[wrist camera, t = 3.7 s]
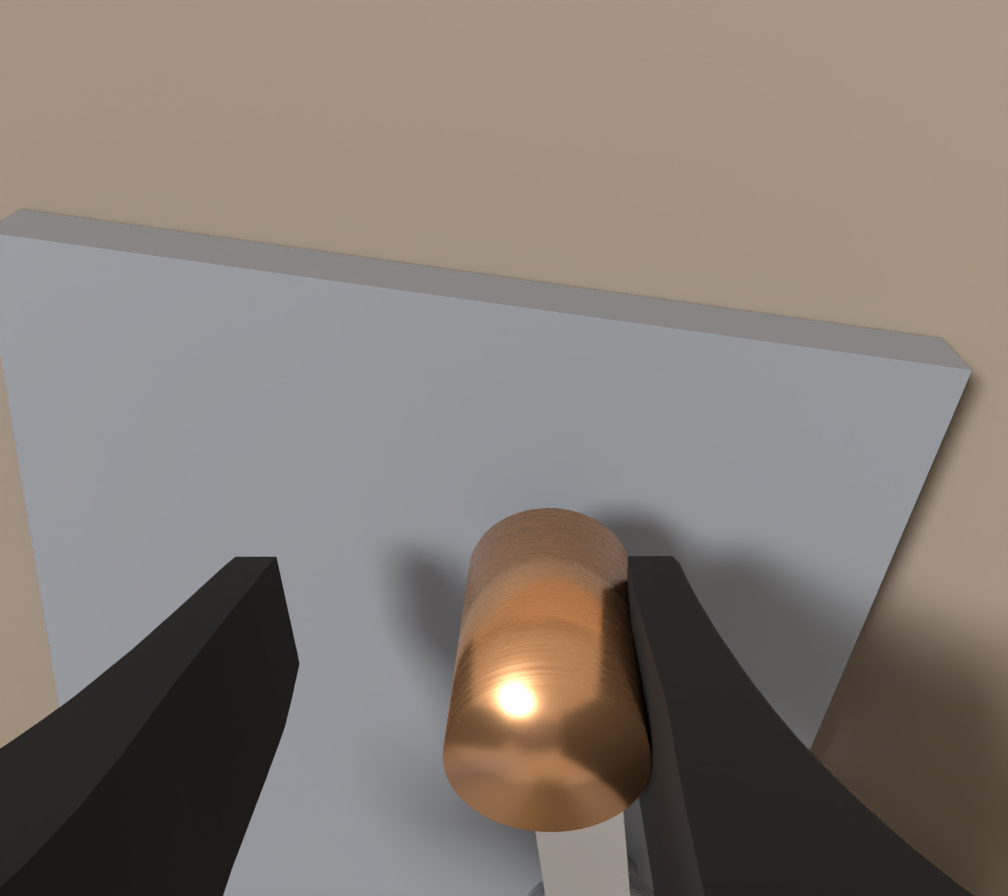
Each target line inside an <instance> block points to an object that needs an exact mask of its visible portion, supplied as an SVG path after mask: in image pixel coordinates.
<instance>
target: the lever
mask: <svg viewBox="0 0 1008 896" xmlns="http://www.w3.org/2000/svg"><path fill="white" fill-rule="evenodd" d="M627 566H628V555H627V553H626V551H625V549H624V547H623V545H622V543H621V542H620V541H619V539H618V538H617V537H616V536H615V535H614V534H613V533H612V531H611V530H609V529H608V528H607V527H606V526H604V525H603V524H601V523H600V522H598V521H597V520H595V519H593V518H591V517H589V516H587V515H584V514H581V513H578V512H575V511H571V510H566V509H558V508H539V509H531V510H527V511H523V512H519V513H516V514H513V515H511V516H509V517H507V518H505V519H503V520H501V521H499V522H498V523H496V524H495V525H493V526H492V527H491V528H490V529H489V530H488V531H487V532H485V534H484V535H483V536H482V537H481V538H480V540H479V541H478V543H477V544H476V546H475V548H474V550H473V553H472V555H471V559H470V563H469V570H468V577H467V584H466V592H465V599H464V606H463V613H462V620H461V627H460V634H459V641H458V648H457V655H456V662H455V669H454V676H453V683H452V690H451V697H450V704H449V711H448V718H447V725H446V732H445V740H444V747H443V766H444V770H445V774H446V777H447V779H448V781H449V783H450V785H451V786H452V788H453V789H454V791H455V792H456V793H457V795H458V796H459V797H460V798H461V799H462V800H463V801H464V802H465V803H466V804H468V805H469V806H470V807H471V808H473V809H474V810H476V811H477V812H479V813H480V814H482V815H483V816H485V817H487V818H489V819H491V820H494V821H496V822H499V823H501V824H504V825H507V826H511V827H514V828H518V829H523V830H529V831H535V833H536V839H537V846H538V852H539V858H540V865H541V871H542V878H543V881H541V882H540V883H539V884H537V885H536V886H535V887H534V888H533V889H532V890H531V891H530V893H529V895H528V896H654V890H653V887H651V886H650V885H649V884H648V883H646V882H645V881H643V880H642V879H640V878H638V877H636V876H633V875H631V874H629V870H628V858H627V845H626V833H625V821H624V810H625V809H627V808H628V807H629V806H630V805H631V804H633V802H634V801H635V800H636V799H637V798H638V797H639V796H640V794H641V793H642V791H643V790H644V788H645V786H646V784H647V781H648V779H649V775H650V771H651V752H650V743H649V735H648V727H647V719H646V712H645V706H644V699H643V693H642V687H641V681H640V674H639V669H638V663H637V658H636V652H635V646H634V641H633V635H632V629H631V618H630V607H629V597H628V586H627Z"/></svg>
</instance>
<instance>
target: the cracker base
mask: <svg viewBox="0 0 1008 896" xmlns="http://www.w3.org/2000/svg"><path fill="white" fill-rule="evenodd" d="M0 355H1V361H2V366H3V372H4V378H5V384H6V390H7V396H8V402H9V408H10V414H11V420H12V426H13V432H14V438H15V444H16V450H17V456H18V462H19V468H20V474H21V480H22V486H23V492H24V498H25V504H26V510H27V516H28V522H29V528H30V534H31V540H32V546H33V552H34V558H35V564H36V570H37V576H38V582H39V588H40V594H41V600H42V606H43V612H44V618H45V624H46V630H47V636H48V642H49V648H50V654H51V660H52V666H53V672H54V678H55V684H56V690H57V696H58V702H59V707H61V706H62V705H63V704H65V703H66V702H67V701H69V700H70V699H71V698H73V697H74V696H75V695H77V694H78V693H79V692H80V691H81V690H83V689H84V688H85V687H86V686H88V685H89V684H90V683H91V682H92V681H94V680H95V679H96V678H97V677H99V676H100V675H101V674H102V673H103V672H105V671H106V670H107V669H108V668H110V667H111V666H112V665H113V664H115V663H116V662H117V661H118V660H119V659H121V658H122V657H123V656H124V655H126V654H127V653H128V652H129V651H130V650H132V649H133V648H134V647H135V646H136V645H137V644H139V643H140V642H141V641H142V640H143V639H144V638H145V637H146V636H148V635H149V634H150V633H151V632H152V631H153V630H154V629H155V628H157V627H158V626H159V625H160V624H161V623H162V622H163V621H164V620H165V619H167V618H168V617H169V616H170V615H171V614H172V613H173V612H174V611H176V610H177V609H178V608H179V607H180V606H181V605H182V604H183V603H184V602H185V601H186V600H188V599H189V598H190V597H191V596H192V595H193V594H194V593H195V592H196V591H197V590H198V589H199V588H201V587H202V586H203V585H204V584H205V583H206V582H207V581H208V580H209V579H210V578H211V577H213V576H214V575H215V574H216V573H217V572H218V571H219V570H220V569H221V568H223V567H224V566H225V565H226V564H227V563H228V562H229V561H231V560H232V559H233V558H234V557H277V561H278V566H279V570H280V575H281V580H282V584H283V589H284V593H285V598H286V603H287V607H288V612H289V617H290V621H291V626H292V630H293V635H294V640H295V644H296V649H297V653H298V658H299V663H300V664H299V669H298V673H297V678H296V683H295V687H294V692H293V696H292V701H291V705H290V709H289V713H288V717H287V721H286V725H285V729H284V732H283V734H282V737H281V740H280V743H279V746H278V748H277V751H276V754H275V756H274V759H273V762H272V765H271V767H270V770H269V773H268V775H267V778H266V781H265V783H264V786H263V789H262V791H261V794H260V797H259V799H258V802H257V804H256V807H255V810H254V812H253V815H252V818H251V820H250V823H249V826H248V828H247V831H246V834H245V836H244V839H243V842H242V844H241V847H240V849H239V852H238V855H237V857H236V860H235V863H234V865H233V868H232V871H231V874H230V877H229V880H228V883H227V886H226V889H225V892H224V895H223V896H528V895H529V893H530V891H531V890H532V889H533V888H534V887H535V886H536V885H537V884H539V883H540V882H541V881H543V878H542V871H541V865H540V858H539V852H538V846H537V839H536V833H535V831H529V830H523V829H518V828H514V827H511V826H507V825H504V824H501V823H499V822H496V821H494V820H491V819H489V818H487V817H485V816H483V815H482V814H480V813H479V812H477V811H476V810H474V809H473V808H471V807H470V806H469V805H468V804H466V803H465V802H464V801H463V800H462V799H461V798H460V797H459V796H458V795H457V793H456V792H455V791H454V789H453V788H452V786H451V785H450V783H449V781H448V779H447V777H446V774H445V770H444V766H443V747H444V740H445V732H446V725H447V718H448V711H449V704H450V697H451V690H452V683H453V676H454V669H455V662H456V655H457V648H458V641H459V634H460V627H461V620H462V613H463V606H464V599H465V592H466V584H467V577H468V570H469V563H470V559H471V555H472V553H473V550H474V548H475V546H476V544H477V543H478V541H479V540H480V538H481V537H482V536H483V535H484V534H485V532H487V531H488V530H489V529H490V528H491V527H492V526H493V525H495V524H496V523H498V522H499V521H501V520H503V519H505V518H507V517H509V516H511V515H513V514H516V513H519V512H523V511H527V510H531V509H539V508H558V509H566V510H571V511H575V512H578V513H581V514H584V515H587V516H589V517H591V518H593V519H595V520H597V521H598V522H600V523H601V524H603V525H604V526H606V527H607V528H608V529H609V530H611V531H612V533H613V534H614V535H615V536H616V537H617V538H618V539H619V541H620V542H621V543H622V545H623V547H624V549H625V551H626V553H627V555H628V556H673V557H674V558H675V559H676V560H677V561H678V562H679V563H680V565H681V567H682V569H683V572H684V574H685V576H686V578H687V580H688V582H689V584H690V586H691V587H692V589H693V591H694V593H695V595H696V597H697V598H698V600H699V602H700V604H701V605H702V607H703V609H704V610H705V612H706V614H707V615H708V617H709V619H710V620H711V622H712V624H713V625H714V627H715V628H716V630H717V632H718V633H719V635H720V636H721V638H722V639H723V641H724V642H725V644H726V645H727V646H728V648H729V649H730V651H731V652H732V654H733V655H734V657H735V658H736V660H737V661H738V663H739V664H740V665H741V667H742V668H743V670H744V671H745V672H746V674H747V675H748V676H749V678H750V679H751V681H752V682H753V683H754V685H755V686H756V687H757V688H758V690H759V691H760V692H761V694H762V695H763V696H764V697H765V699H766V700H767V701H768V702H769V704H770V705H771V706H772V708H773V709H774V710H775V711H776V713H777V714H778V715H779V716H780V717H781V719H782V720H783V721H784V722H785V723H786V725H787V726H788V727H789V728H790V729H791V730H792V731H793V733H794V734H795V735H796V736H797V737H798V738H799V739H800V741H801V742H802V743H803V744H804V745H805V746H806V747H807V748H808V749H809V750H810V749H811V746H812V744H813V742H814V739H815V737H816V735H817V732H818V730H819V728H820V725H821V723H822V721H823V718H824V716H825V714H826V711H827V709H828V707H829V704H830V702H831V699H832V697H833V695H834V692H835V690H836V688H837V685H838V683H839V681H840V678H841V676H842V674H843V671H844V669H845V667H846V664H847V662H848V660H849V657H850V655H851V653H852V650H853V648H854V646H855V643H856V641H857V639H858V636H859V634H860V632H861V629H862V627H863V625H864V622H865V620H866V618H867V615H868V613H869V611H870V608H871V606H872V603H873V601H874V599H875V596H876V594H877V592H878V589H879V587H880V585H881V582H882V580H883V578H884V575H885V573H886V571H887V568H888V566H889V564H890V561H891V559H892V557H893V554H894V552H895V550H896V547H897V545H898V543H899V540H900V538H901V536H902V533H903V531H904V529H905V526H906V524H907V522H908V519H909V517H910V515H911V512H912V510H913V507H914V505H915V503H916V500H917V498H918V496H919V493H920V491H921V489H922V486H923V484H924V482H925V479H926V477H927V475H928V472H929V470H930V468H931V465H932V463H933V461H934V458H935V456H936V454H937V451H938V449H939V447H940V444H941V442H942V440H943V437H944V435H945V433H946V430H947V428H948V426H949V423H950V421H951V419H952V416H953V414H954V411H955V409H956V407H957V404H958V402H959V400H960V397H961V395H962V393H963V390H964V388H965V386H966V383H967V381H968V379H969V376H970V374H971V372H972V369H971V368H970V367H969V366H968V365H967V364H966V363H965V362H964V361H963V360H962V359H961V357H960V356H959V355H958V354H957V353H956V352H955V351H954V350H953V349H952V348H951V347H950V345H949V344H948V343H947V342H946V341H945V340H944V339H941V338H934V337H927V336H920V335H913V334H906V333H899V332H892V331H884V330H877V329H870V328H863V327H856V326H849V325H842V324H835V323H827V322H820V321H813V320H806V319H799V318H792V317H785V316H778V315H770V314H763V313H756V312H749V311H742V310H735V309H728V308H721V307H713V306H706V305H699V304H692V303H685V302H678V301H671V300H664V299H656V298H649V297H642V296H635V295H628V294H621V293H614V292H607V291H599V290H592V289H585V288H578V287H571V286H564V285H557V284H550V283H542V282H535V281H528V280H521V279H514V278H507V277H500V276H493V275H486V274H478V273H471V272H464V271H457V270H450V269H443V268H436V267H429V266H421V265H414V264H407V263H400V262H393V261H386V260H379V259H372V258H364V257H357V256H350V255H343V254H336V253H329V252H322V251H315V250H307V249H300V248H293V247H286V246H279V245H272V244H265V243H258V242H250V241H243V240H236V239H229V238H222V237H215V236H208V235H201V234H193V233H186V232H179V231H172V230H165V229H158V228H151V227H144V226H136V225H129V224H122V223H115V222H108V221H101V220H94V219H87V218H79V217H72V216H65V215H58V214H51V213H44V212H37V211H30V210H22V209H21V210H19V211H17V212H15V213H14V214H12V215H10V216H8V217H6V218H4V219H2V220H0ZM624 821H625V833H626V845H627V858H628V870H629V874H631V875H633V876H636V877H638V878H640V879H642V880H643V881H645V882H646V883H648V884H649V885H650V886H651V887H653V882H652V875H651V869H650V863H649V857H648V851H647V845H646V839H645V832H644V826H643V820H642V814H641V808H640V802H639V797H638V798H637V799H636V800H635V801H634V802H633V804H631V805H630V806H629V807H628V808H627V809H625V810H624Z"/></svg>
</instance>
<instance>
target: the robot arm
mask: <svg viewBox="0 0 1008 896" xmlns="http://www.w3.org/2000/svg"><path fill="white" fill-rule="evenodd" d="M627 586H628V597H629V607H630V618H631V629H632V635H633V641H634V646H635V652H636V658H637V663H638V669H639V674H640V681H641V687H642V693H643V699H644V706H645V712H646V719H647V727H648V735H649V743H650V752H651V771H650V775H649V779H648V781H647V784H646V786H645V788H644V790H643V791H642V793H641V794H640V796H639V802H640V808H641V814H642V820H643V826H644V832H645V839H646V845H647V851H648V857H649V863H650V869H651V875H652V882H653V890H654V896H974V895H972V894H971V893H969V892H968V891H967V890H965V889H964V888H962V887H961V886H960V885H958V884H957V883H956V882H954V881H953V880H952V879H950V878H949V877H948V876H946V875H945V874H944V873H943V872H941V871H940V870H939V869H938V868H936V867H935V866H934V865H933V864H931V863H930V862H929V861H928V860H926V859H925V858H924V857H923V856H921V855H920V854H919V853H918V852H916V851H915V850H914V849H913V848H911V847H910V846H909V845H908V844H907V843H906V842H905V841H904V840H903V839H901V838H900V837H899V836H898V835H897V834H896V833H895V832H894V831H892V830H891V829H890V828H889V827H888V826H887V825H886V824H885V823H884V822H882V821H881V820H880V819H879V818H878V817H877V816H876V815H875V814H873V813H872V812H871V811H870V810H869V809H868V808H867V807H866V806H865V805H863V804H862V803H861V802H860V801H859V800H858V799H857V798H856V797H855V796H853V795H852V794H851V793H850V792H849V791H848V790H847V789H846V788H845V787H844V786H843V785H842V784H841V783H840V782H839V781H838V780H837V779H836V778H835V777H834V776H833V775H832V773H831V772H830V771H829V770H828V769H827V768H826V767H825V766H824V765H823V764H822V763H821V762H820V761H819V760H818V759H817V758H816V757H815V756H814V755H813V754H812V753H811V751H810V750H809V749H808V748H807V747H806V746H805V745H804V744H803V743H802V742H801V741H800V739H799V738H798V737H797V736H796V735H795V734H794V733H793V731H792V730H791V729H790V728H789V727H788V726H787V725H786V723H785V722H784V721H783V720H782V719H781V717H780V716H779V715H778V714H777V713H776V711H775V710H774V709H773V708H772V706H771V705H770V704H769V702H768V701H767V700H766V699H765V697H764V696H763V695H762V694H761V692H760V691H759V690H758V688H757V687H756V686H755V685H754V683H753V682H752V681H751V679H750V678H749V676H748V675H747V674H746V672H745V671H744V670H743V668H742V667H741V665H740V664H739V663H738V661H737V660H736V658H735V657H734V655H733V654H732V652H731V651H730V649H729V648H728V646H727V645H726V644H725V642H724V641H723V639H722V638H721V636H720V635H719V633H718V632H717V630H716V628H715V627H714V625H713V624H712V622H711V620H710V619H709V617H708V615H707V614H706V612H705V610H704V609H703V607H702V605H701V604H700V602H699V600H698V598H697V597H696V595H695V593H694V591H693V589H692V587H691V586H690V584H689V582H688V580H687V578H686V576H685V574H684V572H683V569H682V567H681V565H680V563H679V562H678V561H677V560H676V559H675V558H674V557H673V556H628V566H627ZM299 664H300V663H299V658H298V653H297V649H296V644H295V640H294V635H293V630H292V626H291V621H290V617H289V612H288V607H287V603H286V598H285V593H284V589H283V584H282V580H281V575H280V570H279V566H278V561H277V557H234V558H233V559H232V560H231V561H229V562H228V563H227V564H226V565H225V566H224V567H223V568H221V569H220V570H219V571H218V572H217V573H216V574H215V575H214V576H213V577H211V578H210V579H209V580H208V581H207V582H206V583H205V584H204V585H203V586H202V587H201V588H199V589H198V590H197V591H196V592H195V593H194V594H193V595H192V596H191V597H190V598H189V599H188V600H186V601H185V602H184V603H183V604H182V605H181V606H180V607H179V608H178V609H177V610H176V611H174V612H173V613H172V614H171V615H170V616H169V617H168V618H167V619H165V620H164V621H163V622H162V623H161V624H160V625H159V626H158V627H157V628H155V629H154V630H153V631H152V632H151V633H150V634H149V635H148V636H146V637H145V638H144V639H143V640H142V641H141V642H140V643H139V644H137V645H136V646H135V647H134V648H133V649H132V650H130V651H129V652H128V653H127V654H126V655H124V656H123V657H122V658H121V659H119V660H118V661H117V662H116V663H115V664H113V665H112V666H111V667H110V668H108V669H107V670H106V671H105V672H103V673H102V674H101V675H100V676H99V677H97V678H96V679H95V680H94V681H92V682H91V683H90V684H89V685H88V686H86V687H85V688H84V689H83V690H81V691H80V692H79V693H78V694H77V695H75V696H74V697H73V698H71V699H70V700H69V701H67V702H66V703H65V704H63V705H62V706H61V707H59V708H58V709H57V710H55V711H54V712H52V713H51V714H50V715H48V716H47V717H46V718H44V719H43V720H41V721H40V722H39V723H37V724H36V725H34V726H33V727H31V728H30V729H28V730H27V731H26V732H24V733H23V734H21V735H20V736H18V737H17V738H15V739H14V740H13V741H11V742H10V743H8V744H7V745H5V746H4V747H2V748H1V749H0V896H223V895H224V892H225V889H226V886H227V883H228V880H229V877H230V874H231V871H232V868H233V865H234V863H235V860H236V857H237V855H238V852H239V849H240V847H241V844H242V842H243V839H244V836H245V834H246V831H247V828H248V826H249V823H250V820H251V818H252V815H253V812H254V810H255V807H256V804H257V802H258V799H259V797H260V794H261V791H262V789H263V786H264V783H265V781H266V778H267V775H268V773H269V770H270V767H271V765H272V762H273V759H274V756H275V754H276V751H277V748H278V746H279V743H280V740H281V737H282V734H283V732H284V729H285V725H286V721H287V717H288V713H289V709H290V705H291V701H292V696H293V692H294V687H295V683H296V678H297V673H298V669H299Z"/></svg>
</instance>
